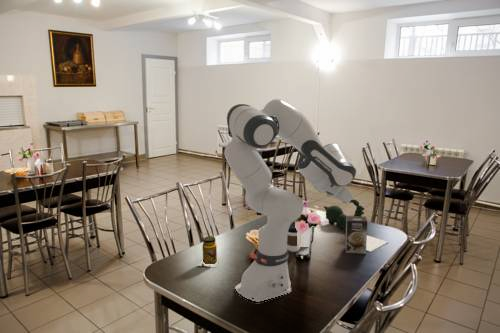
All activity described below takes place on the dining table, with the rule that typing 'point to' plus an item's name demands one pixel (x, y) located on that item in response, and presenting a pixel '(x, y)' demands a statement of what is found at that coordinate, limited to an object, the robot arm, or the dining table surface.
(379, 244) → the mat
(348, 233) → the coffee box
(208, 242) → the condiment
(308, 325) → the dining table surface
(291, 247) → the coffee cup
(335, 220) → the toy figurine
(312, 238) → the food container
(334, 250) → the dining table surface
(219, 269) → the dining table surface
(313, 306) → the dining table surface
